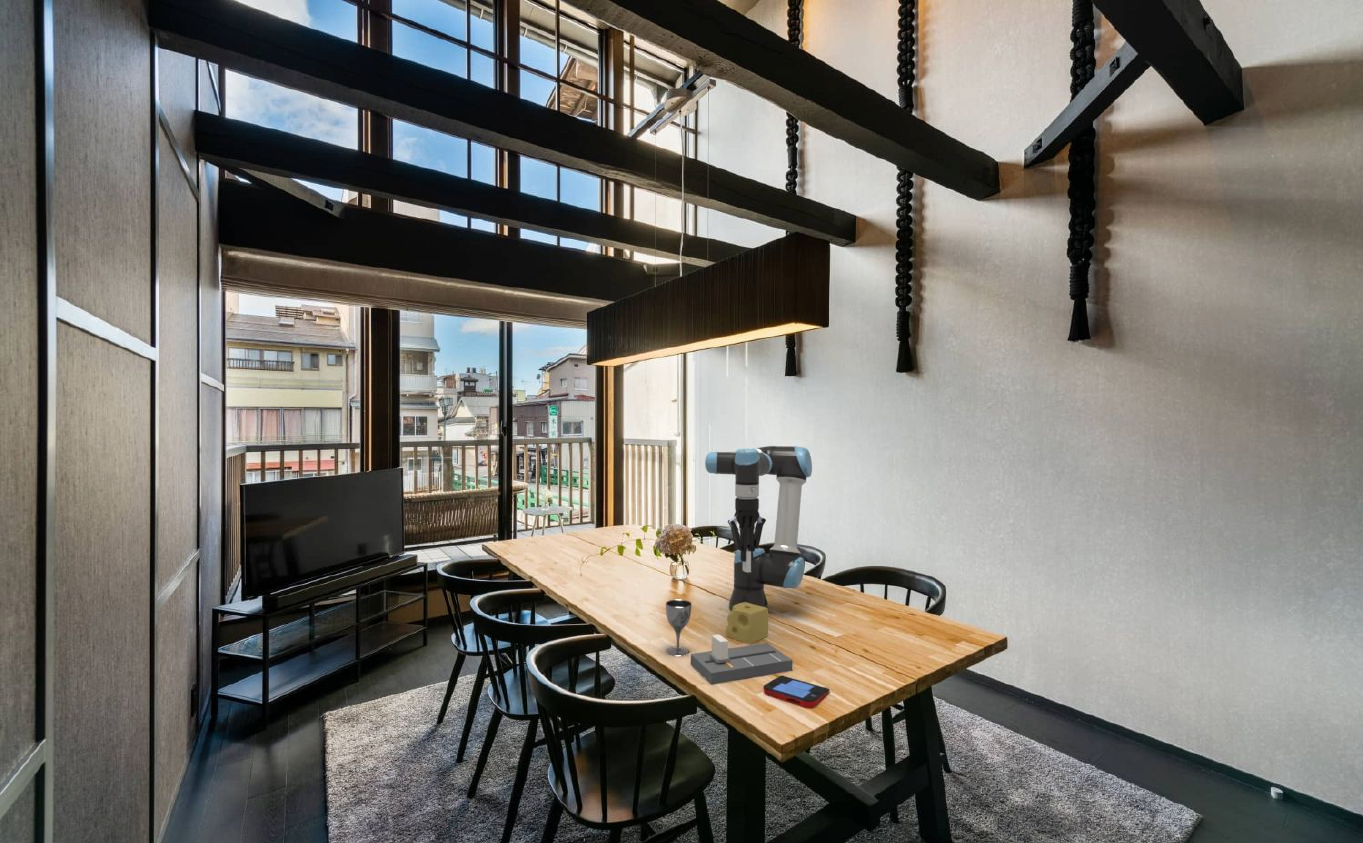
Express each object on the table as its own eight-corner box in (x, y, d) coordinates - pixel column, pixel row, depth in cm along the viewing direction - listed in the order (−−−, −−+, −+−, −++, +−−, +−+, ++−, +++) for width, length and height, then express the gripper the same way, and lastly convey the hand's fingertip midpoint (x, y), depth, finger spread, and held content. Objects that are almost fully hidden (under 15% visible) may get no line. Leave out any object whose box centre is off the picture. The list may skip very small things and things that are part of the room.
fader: (721, 654, 163) (721, 633, 164) (730, 661, 158) (730, 640, 158) (709, 656, 162) (709, 635, 162) (717, 663, 157) (717, 642, 157)
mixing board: (766, 652, 174) (767, 642, 174) (792, 670, 161) (792, 659, 161) (690, 664, 164) (690, 653, 164) (711, 684, 151) (711, 672, 151)
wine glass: (681, 658, 168) (682, 608, 168) (659, 652, 172) (660, 604, 173) (695, 650, 175) (696, 602, 175) (673, 644, 179) (674, 597, 179)
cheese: (725, 637, 187) (725, 607, 187) (744, 629, 195) (745, 600, 195) (750, 645, 180) (751, 614, 180) (769, 637, 188) (770, 607, 188)
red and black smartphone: (831, 693, 148) (831, 684, 148) (811, 712, 138) (811, 702, 138) (781, 678, 157) (781, 670, 157) (759, 695, 147) (759, 686, 147)
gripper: (734, 500, 172) (734, 576, 172) (770, 497, 177) (770, 572, 177) (723, 496, 179) (723, 570, 179) (758, 494, 184) (758, 566, 184)
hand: (746, 571), depth 178 cm, fingers closed
